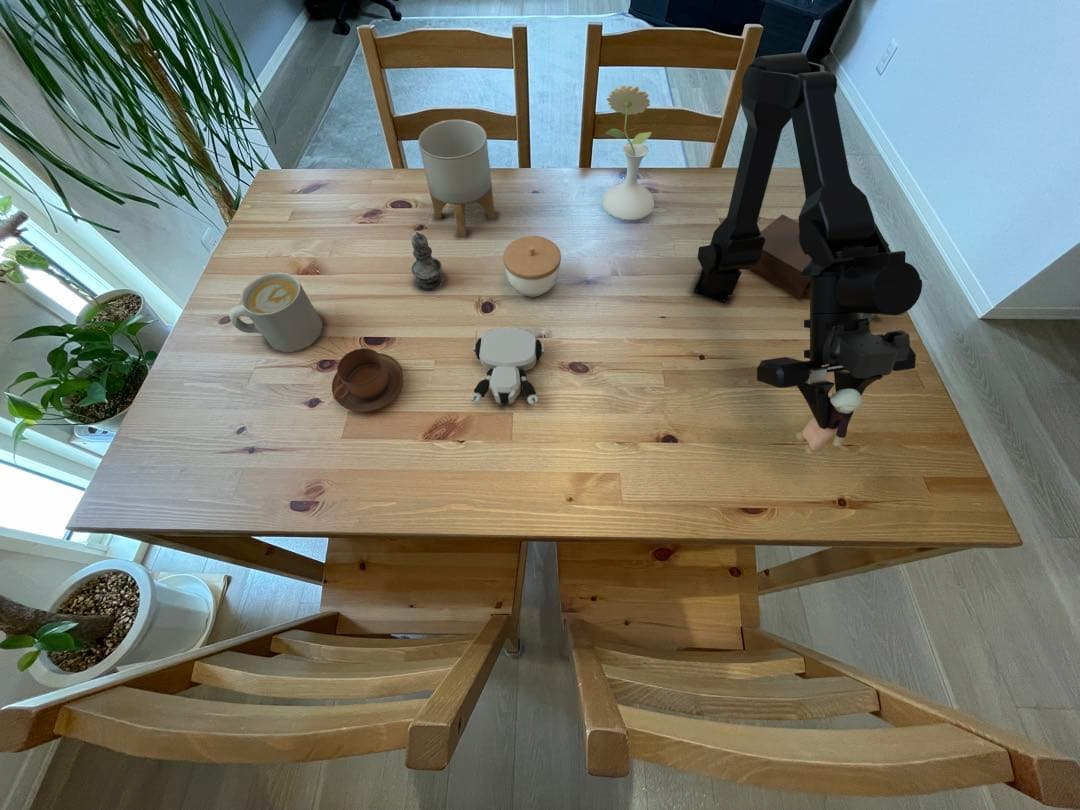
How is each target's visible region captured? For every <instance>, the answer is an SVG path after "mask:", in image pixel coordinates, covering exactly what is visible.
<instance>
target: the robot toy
mask: <svg viewBox="0 0 1080 810" xmlns="http://www.w3.org/2000/svg"><path fill="white" fill-rule="evenodd" d="M477 333H478V329H477V328H475V329H474V342H473V346H472V347H473V348H472V350H473V352H474V353H475V356H476V358H477V360H478V361H480V362H481V363H480V364H481V365H482V367H484V368H485V369H487V370H488V371H487V372H486V378H484V379H481V380H480V381H479V382H478V383H477V385H476V386H475V388H474V389H473V392H474V393H472V394H471V396H470V398H469V399H470V401H471V402H474V403H475V404H479V403H480V401H482V398H485V396H486V395H487V393H488V391H489V389H490V391H491V394H492V395H493V397H494V399H495V402H496V403H497V404H500V405H502V406H507V405H511V404H513V403H515V401H516V399H517V397H519V395H520V394H521V391H522V392H523V395H524V397H525V398H526V400H527V403H528V404H529V405H531V406H533V405H535V404H538V402H539V397H538V396H537V395H536V394H537V392H536V390H535V387H534V386H533V383H532V382H530V381H529V380H527V378H526V377H527V374H526V372H525V371H528V370H530V369H533V368H534V367H535V365H536V363H537V362H539V361H540V359H541V357H542V354H545V353H544V352H545V348H544V346H545V345H544V344H545V329H542V343H541V340H540V339H538V337H537V336H536V334H535V333H533V332H532V331H531V330H529V329H524V328H521V327H513V326H506V327H497V328H492V329H489V330H487V331H485V332H483V334H482V335H481V337H479V338H477Z"/></svg>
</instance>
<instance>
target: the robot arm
mask: <svg viewBox="0 0 1080 810" xmlns="http://www.w3.org/2000/svg"><path fill="white" fill-rule="evenodd" d="M837 88H838V80H837V77H836V74H834V73H833V72H831V71H828V70H825V65H823V64H819V63H815V62H812V61H809V59H808V57H807V55H806V54H805V53H804V52H792V53H783V54H773V55H763V56H757V57H755V59H753V61H752V62H751V63H750V64H748V65H747V67H746V69H745V70H744V73H743V76H742V81H741V92H742V93H741V99H740V106H741V109H742V111H743V114H744V117H745V120H746V124H747V125H746V130H745V135H744V139H743V143H742V147H741V153H740V157H739V161H738V166H737V171H736V175H735V179H734V185H733V189H732V194H731V197H730V202H729V207H728V211H727V215H726V217H725V219H724V220H723V221H722V222H721V223H720V224H719V225H718V226H717V227H716V228H715V230H714V231H713V235H712V237H711V241H710V244H708V245H703V246H699V247H698V249H697V250H698V251H697V260H698V262H699V265H700V266H701V272H700V274H699V278H698V280H697V282H696V284H695V287H694V289H693V291H692V292H693V294H696V295H698V296H700V297H701V296H702V297H704V298H707V299H710V300H713V301H715V302H716V301H717V302H720V303H722V304H726V303H727V302H728V299H729V297H730V296H733V295H734V291H735V290H736V287H737V284H738V282H739V280H740V278H741V276H742V272H743V271H742V270H750V267H752V266H753V265H756V264H757V262H758V260H759V259H761V253H762V249H763V246H764V243H765V238H764V236H762V234H761V230H760V229H761V228H760V227H759V224H758V221H759V218H760V213H761V210H762V206H763V202H764V199H765V195H766V191H767V188H768V185H769V180H770V177H771V173H772V169H773V166H774V162H775V157H776V154H777V151H778V147H779V144H780V139H781V136H782V132H783V130H784V128H785V127H786V126H787V124H788V123H789V122H790V121H791V122H792V128H793V135H794V140H795V145H796V149H797V150H796V151H797V155H798V161H799V167H800V173H801V177H802V183H803V188H804V197H805V200H804V203H803V204H802V207H801V210H800V212H799V214H798V223H799V232H800V233H799V243H800V246H801V247H802V250H803V252H804V254H805V255H807V254H808V255H809V256H810V257H811V258H812V260H811V262H810V264H809V265H808V266H807V267H805V268H804V269H803V271H802V272H801V276H803V277H810V294H809V318H808V319H803V328H804V329H805V328H806V329H809V349H803V358H804V359H809V360H804V361H803V360H799V359H796V358H791V357H787V356H783V357H775V358H769V359H762V360H761V361H760V363H759V364H758V366H757V368H756V381H758V382H760V383H763V384H765V385H769V386H772V387H775V388H779V389H780V388H782V389H784V388H790V387H791V388H792V387H797V389H798V390H799V391H800V393H801V394H802V396H803V398H804V399H805V401H806V403H807V405H808V407H809V410H810V412H811V413H812V415H813V417H815V419H816V421H817V423H818V425H819V427H820V428H822V429H826V428H827V424H828V397H829V393H830V391H831V390H832V388H833V387H834V388H835V389H834V391H835V393H836V392H837V391H839V390H842V389H855V390H857V391H858V392H859V393H860V395H861V396H862V395H863V394H864V392H865V391H866V389H867V388H868V387H869V386H870V385H872V384H873V383H874V382H876V381H878V380H882V379H883V377H884V376H889V375H891V374H892V372H899V371H900V372H901V371H907V370H913V369H916V363H917V362H916V361H917V354H916V353H915V351H914V350H913V348H912V347H911V339H910V333H908V332H906V331H904V330H903V329H901V330H900V329H898V330H891V331H887V332H886V333H885V334H883V333H879V334H874V333H872V332H871V321H870V322H869V321H868V318H863V317H864V316H863V317H862V314H866V313H867V314H877V315H881V316H882V315H883V316H899V315H902V314H904V313H907V312H909V311H910V310H911V309H912V308H913V307H914V306H915V305H916V304H917V302H918V300H919V299H920V297H921V294H922V290H923V279H921V277H920V273H919V272H918V270H917V268H916V267H915V266H914V265H912V264H911V263H909V262H906V255H907V253H906V251H905V250H899V251H898V250H896V251H892V250H891V249H890V244H889V243H888V242H887V241H886V239H885V238H884V236H883V234H882V233H881V231H880V228H879V227H878V225H877V223H876V221H875V217H874V213H873V211H872V208H871V205H870V202H869V200H868V197H867V195H866V194H865V193H864V192H863V191H862V190H861V189H860V188H858V186H857V185H856V184H854V182H853V180H852V177H851V174H850V169H849V164H848V159H847V152H846V147H845V143H844V138H843V133H842V127H841V122H840V117H839V110H838V106H837V101H836V93H837ZM828 373H833V376H834V382H832V381H829V380H828ZM854 412H855V411H852V412H850V413H847V416H848V419H849V422H851V419H852V417H853V415H854Z"/></svg>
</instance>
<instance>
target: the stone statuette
mask: <svg viewBox="0 0 1080 810" xmlns="http://www.w3.org/2000/svg"><path fill="white" fill-rule="evenodd" d="M411 245H412V248H413V251H412V255H413V257H414V258H415V262H413V264H412V265H411V269H410V270H411V273H412V275H413V276H414V277H415V278H416V286H417V287H418V288H419V289H421V290H422V291H426V292H432V291H435V290H438V289H439V288H440V287H442V285H443V284H444V277H443V275H442V274H441V273H442V269H443V266H442V263H441V261H440V260H439V259H437V258H436V257H433V256H432V253H433V249H432V248H431V247H430V246H429V242H428V238H427V236H426V235H425V234H423V233H420V232H419V231H416V232H415V234H414V235H413V236H412V238H411Z"/></svg>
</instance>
